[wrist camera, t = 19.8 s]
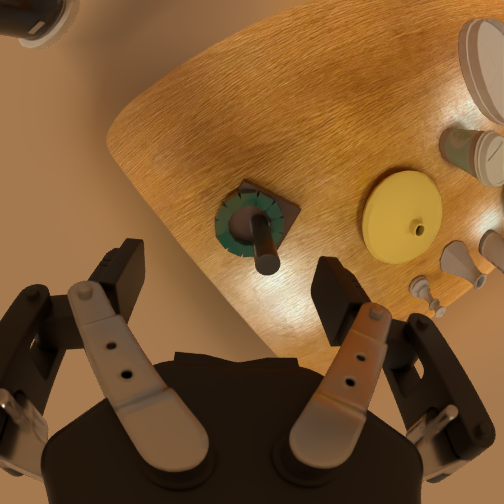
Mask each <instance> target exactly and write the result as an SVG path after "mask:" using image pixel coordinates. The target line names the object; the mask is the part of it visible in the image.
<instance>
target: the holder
mask: <svg viewBox="0 0 504 504" xmlns="http://www.w3.org/2000/svg"><path fill="white" fill-rule="evenodd" d="M254 189H256V191H257V192H258V190H260V191H262V192H264V193H266V194H268V195H270V196H271V197H272V198H273V199H275V201H276V203H277V204H278V206H279V208H280V209H281V211H282V213H283V217H284V232H282V233H283V235H282V237H281V239H280V240H279V242H278V243H277V245H276V246H275V243H274V240H273V237H272V234H271V231H270V227H269V217H268V215H267V213H266V212H265V211H264V210H262V209H260V208H258V207H256V206H246V207H242V208H240V209H239V210H237V211H235V212H234V213H233V215H232V216H231V218H230V220H229V228H230V230H231V231H232V233H233V234H234V235H235V236H236V237H238V238H240V239H242V240H252V247H253V254H254V260H255V267H256V270H257V271H258V272H259V273H260V274H262V275H272V274H274V273H276V272H277V271H278V270H279V268H280V259H279V256H278V253H277V250H278V248H279V246H280V245H281V243H282V241H283V240H284V238H285V236H286V235H287V233H288V231H289V230H290V228H291V226H292V225H293V223H294V221H295V220H296V218H297V216H298V215H299V213H300V211H301V208H300V206H298V205H296V204H294V203H292V202H290V201H288V200H286V199H284V198H282V197H280V196H278V195H276V194H274V193H272V192H270V191H268V190H266V189H264V188H262V187H260V186H258V185H256V184H254V183H252V182H249V181H247V180H245V179H243V180H242V182H241V184H240V186H239V188H238V190H237V191H238V192H239V194H240V190H254ZM216 238H217V235H216Z"/></svg>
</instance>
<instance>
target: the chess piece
mask: <svg viewBox="0 0 504 504" xmlns="http://www.w3.org/2000/svg"><path fill="white" fill-rule="evenodd" d="M409 291H410V293H411V294H412V295H413V296H414V297H415V298H420V299H425V300H426V301H427V302H428V303H429V309H430V310H435V316H436V317H441V316H443V315H444V312H445V307H442V306H439V300H438V299H434V298H433V297H432V295H431V294H430V288H429V281H428V280H427V279H426V278H425V277H424V276H418V277H416V278H415V279H414V280H413V281H412V282H411V284H410V286H409Z"/></svg>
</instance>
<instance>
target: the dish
mask: <svg viewBox="0 0 504 504" xmlns="http://www.w3.org/2000/svg"><path fill="white" fill-rule="evenodd" d="M458 49H459V60H460V64H461V69H462V73H463V77H464V79H465V82H466V85H467V88H468V90H469V92H470V94H471V96H472V98H473V100H474V102H475V104H476V105H477V106H478V108H479V109H480V111H481V112H482V113H483V114H484V115H485V116H486V117H487V118H488V119H489V120H490V121H493V122H495V123H497V124H501V125H504V24H503V23H502V22H501V21H498V20H496V19H476V20H472V21H468V22H467V23H466V24H464V25H463V27H462V29H461V32H460V34H459V42H458Z"/></svg>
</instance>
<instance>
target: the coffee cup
mask: <svg viewBox="0 0 504 504" xmlns="http://www.w3.org/2000/svg"><path fill="white" fill-rule="evenodd" d="M439 146H440V152H441V154H442V156H443V158H444V159H445V160H447V161H448V162H450V163H452V164H454V165H455V166H457V167H459V168H461V169H462V170H464V171H466V172H467V173H469V174H471V175H472V176H474V177H475V178H477V179H479V181H480V182H481V183H482V184H483V185H485V186H489V187H494V186H495V187H499V186H501V185H503V184H504V137H502V136H501V135H500V134H499V133H497V132H495V131H493V130H487V131H476V130H462V129H447V130H445V131H444V132H443V134H442V135H441V138H440V143H439Z"/></svg>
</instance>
